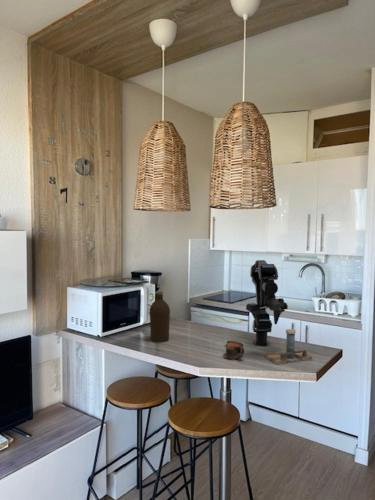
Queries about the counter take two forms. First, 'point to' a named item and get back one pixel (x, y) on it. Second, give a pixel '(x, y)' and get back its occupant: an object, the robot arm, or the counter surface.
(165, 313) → the olive oil
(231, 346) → the pottery mug
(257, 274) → the robot arm
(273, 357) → the board
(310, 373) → the counter surface
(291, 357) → the spool
